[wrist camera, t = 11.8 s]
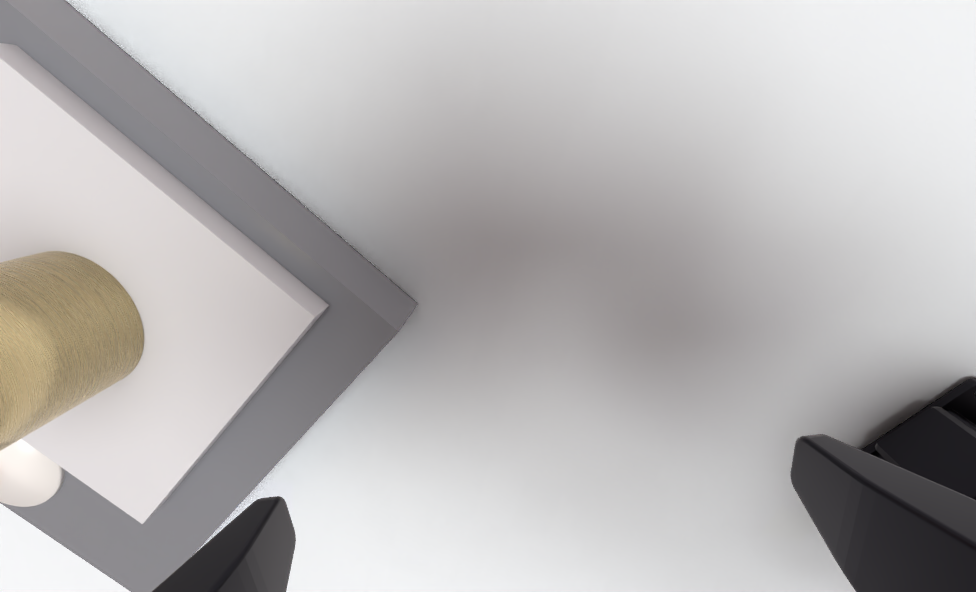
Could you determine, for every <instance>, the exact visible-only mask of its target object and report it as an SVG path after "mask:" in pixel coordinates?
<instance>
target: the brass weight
mask: <svg viewBox="0 0 976 592" xmlns="http://www.w3.org/2000/svg"><path fill="white" fill-rule="evenodd" d="M143 344H144V332H143V326H142V322H141V318H140V315H139V313H138V310H137V308H136V306H135V304H134V302H133V300H132V299H131V297H130V295H129V294H128V293H127V291H126V290H125V288H124V287H123V286H122V285H121V284H120V283H119V282H118V280H117V279H115V278H114V277H113V276H112V275H111V274H110V273H109V272H108V271H106V270H105V269H104V268H102V267H101V266H99V265H98V264H96V263H94V262H93V261H91V260H89V259H87V258H85V257H82V256H79V255H76V254H73V253H68V252H62V251H46V252H42V253H37V254H33V255H29V256H25V257H20V258H16V259H12V260H8V261H4V262H0V451H1V450H3V449H4V448H6V447H8V446H10V445H11V444H13V443H15V442H16V441H18V440H20V439H21V438H23V437H25V436H27V435H28V434H30V433H32V432H33V431H35V430H37V429H38V428H40V427H42V426H44V425H45V424H47V423H49V422H50V421H52V420H54V419H55V418H57V417H59V416H61V415H62V414H64V413H66V412H67V411H69V410H71V409H72V408H74V407H76V406H78V405H79V404H81V403H83V402H84V401H86V400H88V399H89V398H91V397H93V396H95V395H96V394H98V393H100V392H101V391H103V390H105V389H106V388H108V387H110V386H112V385H113V384H115V383H117V382H118V381H120V380H122V379H123V378H125V377H126V376H128V375H129V374H130V373H131V372H132V371H133V370H134V368H135V367H136V365H137V364H138V362H139V360H140V358H141V355H142V351H143Z"/></svg>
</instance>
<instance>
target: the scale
mask: <svg viewBox="0 0 976 592" xmlns="http://www.w3.org/2000/svg"><path fill="white" fill-rule="evenodd" d="M46 251H62V252H68V253H73V254H76V255H79V256H82V257H85V258H87V259H89V260H91V261H93V262H94V263H96V264H98V265H99V266H101V267H102V268H104V269H105V270H106V271H108V272H109V273H110V274H111V275H112V276H113V277H114V278H115V279H117V280H118V282H119V283H120V284H121V285H122V286H123V287H124V288H125V290H126V291H127V293H128V294H129V295H130V297H131V299H132V300H133V302H134V304H135V306H136V308H137V310H138V313H139V315H140V318H141V322H142V326H143V332H144V344H143V351H142V355H141V358H140V360H139V362H138V364H137V365H136V367H135V368H134V370H133V371H132V372H131V373H130V374H129V375H128V376H126V377H125V378H123V379H122V380H120V381H118V382H117V383H115V384H113V385H112V386H110V387H108V388H106V389H105V390H103V391H101V392H100V393H98V394H96V395H95V396H93V397H91V398H89V399H88V400H86V401H84V402H83V403H81V404H79V405H78V406H76V407H74V408H72V409H71V410H69V411H67V412H66V413H64V414H62V415H61V416H59V417H57V418H55V419H54V420H52V421H50V422H49V423H47V424H45V425H44V426H42V427H40V428H38V429H37V430H35V431H33V432H32V433H30V434H28V435H27V436H25V437H23V438H21V439H20V440H18V441H16V442H15V443H13V444H11V445H10V446H8V447H6V448H4V449H3V450H1V451H0V503H1V504H3V505H4V506H6V507H7V508H9V509H10V510H11V511H13V512H14V513H16V514H17V515H19V516H20V517H22V518H23V519H25V520H26V521H28V522H29V523H31V524H32V525H34V526H35V527H37V528H38V529H39V530H41V531H42V532H44V533H45V534H47V535H48V536H50V537H51V538H53V539H54V540H56V541H57V542H59V543H60V544H62V545H63V546H64V547H66V548H67V549H69V550H70V551H72V552H73V553H75V554H76V555H78V556H79V557H81V558H82V559H84V560H85V561H87V562H88V563H90V564H91V565H92V566H94V567H95V568H97V569H98V570H100V571H101V572H103V573H104V574H106V575H107V576H109V577H110V578H112V579H113V580H115V581H116V582H118V583H119V584H120V585H122V586H123V587H125V588H126V589H128V590H129V591H131V592H152V591H153V590H154V589H155V588H156V587H158V586H159V585H160V584H161V583H162V582H163V581H164V580H165V579H167V578H168V577H169V576H170V575H171V574H172V573H173V572H175V571H176V570H177V569H178V568H179V567H180V566H181V565H183V564H184V563H185V562H186V561H187V560H188V559H189V558H190V557H191V556H192V555H193V554H194V553H195V552H196V551H197V550H198V549H199V548H200V547H201V546H202V544H203V543H204V542H205V541H206V540H207V539H208V538H209V537H210V536H211V535H212V534H213V533H214V531H215V530H216V529H217V528H218V527H219V526H220V525H221V524H222V523H223V522H224V521H225V519H226V518H227V517H228V516H229V515H230V514H231V513H232V512H233V511H234V510H235V509H236V508H237V506H238V505H239V504H240V503H241V502H242V501H243V500H244V499H245V498H246V497H247V496H248V495H249V493H250V492H251V491H252V490H253V489H254V488H255V487H256V486H257V485H258V484H259V483H260V481H261V480H262V479H263V478H264V477H265V476H266V475H267V474H268V473H269V472H270V471H271V470H272V468H273V467H274V466H275V465H276V464H277V463H278V462H279V461H280V460H281V459H282V458H283V456H284V455H285V454H286V453H287V452H288V451H289V450H290V449H291V448H292V447H293V446H294V445H295V443H296V442H297V441H298V440H299V439H300V438H301V437H302V436H303V435H304V434H305V433H306V432H307V430H308V429H309V428H310V427H311V426H312V425H313V424H314V423H315V422H316V421H317V420H318V418H319V417H320V416H321V415H322V414H323V413H324V412H325V411H326V410H327V409H328V408H329V407H330V405H331V404H332V403H333V402H334V401H335V400H336V399H337V398H338V397H339V396H340V395H341V394H342V392H343V391H344V390H345V389H346V388H347V387H348V386H349V385H350V384H351V383H352V382H353V380H354V379H355V378H356V377H357V376H358V375H359V374H360V373H361V372H362V371H363V370H364V369H365V367H366V366H367V365H368V364H369V363H370V362H371V361H372V360H373V359H374V358H375V357H376V355H377V354H378V353H379V352H380V351H381V350H382V349H383V348H384V347H385V346H386V345H387V344H388V342H389V341H390V340H391V339H392V338H393V337H394V336H395V335H396V334H397V333H398V332H399V330H400V329H401V327H402V326H403V325H404V323H405V322H406V320H407V319H408V317H409V316H410V315H411V313H412V312H413V310H414V309H415V307H416V306H417V305H418V304H417V303H416V302H415V301H414V300H413V299H412V298H410V297H409V296H408V295H407V294H406V293H405V292H403V291H402V290H401V289H400V288H399V287H398V286H396V285H395V284H394V283H393V282H392V281H391V280H389V279H388V278H387V277H386V276H385V275H384V274H383V273H381V272H380V271H379V270H378V269H377V268H376V267H374V266H373V265H372V264H371V263H370V262H369V261H367V260H366V259H365V258H364V257H363V256H362V255H360V254H359V253H358V252H357V251H356V250H355V249H353V248H352V247H351V246H350V245H349V244H348V243H346V242H345V241H344V240H343V239H342V238H341V237H339V236H338V235H337V234H336V233H335V232H334V231H332V230H331V229H330V228H329V227H328V226H327V225H325V224H324V223H323V222H322V221H321V220H320V219H319V218H317V217H316V216H315V215H314V214H313V213H312V212H310V211H309V210H308V209H307V208H306V207H305V206H303V205H302V204H301V203H300V202H299V201H298V200H296V199H295V198H294V197H293V196H292V195H291V194H289V193H288V192H287V191H286V190H285V189H284V188H282V187H281V186H280V185H279V184H278V183H277V182H275V181H274V180H273V179H272V178H271V177H270V176H268V175H267V174H266V173H265V172H264V171H263V170H262V169H260V168H259V167H258V166H257V165H256V164H255V163H253V162H252V161H251V160H250V159H249V158H248V157H246V156H245V155H244V154H243V153H242V152H241V151H239V150H238V149H237V148H236V147H235V146H234V145H232V144H231V143H230V142H229V141H228V140H227V139H225V138H224V137H223V136H222V135H221V134H220V133H218V132H217V131H216V130H215V129H214V128H213V127H211V126H210V125H209V124H208V123H207V122H206V121H204V120H203V119H202V118H201V117H200V116H199V115H198V114H196V113H195V112H194V111H193V110H192V109H191V108H189V107H188V106H187V105H186V104H185V103H184V102H182V101H181V100H180V99H179V98H178V97H177V96H175V95H174V94H173V93H172V92H171V91H170V90H168V89H167V88H166V87H165V86H164V85H163V84H161V83H160V82H159V81H158V80H157V79H156V78H154V77H153V76H152V75H151V74H150V73H149V72H147V71H146V70H145V69H144V68H143V67H142V66H141V65H139V64H138V63H137V62H136V61H135V60H134V59H132V58H131V57H130V56H129V55H128V54H127V53H125V52H124V51H123V50H122V49H121V48H120V47H118V46H117V45H116V44H115V43H114V42H113V41H111V40H110V39H109V38H108V37H107V36H106V35H104V34H103V33H102V32H101V31H100V30H99V29H97V28H96V27H95V26H94V25H93V24H92V23H90V22H89V21H88V20H87V19H86V18H85V17H83V16H82V15H81V14H80V13H79V12H78V11H77V10H75V9H74V8H73V7H72V6H71V5H70V4H68V3H67V2H66V1H65V0H0V262H4V261H8V260H12V259H16V258H20V257H25V256H29V255H33V254H37V253H42V252H46Z"/></svg>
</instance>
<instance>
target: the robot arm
mask: <svg viewBox="0 0 976 592" xmlns="http://www.w3.org/2000/svg"><path fill="white" fill-rule="evenodd" d="M975 392H976V378H973V379H969V380H967V381H965V382H963V383H962V384H960V385H959V386H957V387H956V388H954V389H953V390H951V391H950V392H948V393H947V394H945V395H944V396H942V397H941V398H939V399H938V400H936V401H935V402H933V403H932V404H930V405H929V406H927V407H926V408H924V409H923V410H921V411H920V412H918V413H917V414H915V415H914V416H912V417H911V418H909V419H907V420H906V421H904V422H903V423H901V424H900V425H898V426H897V427H895V428H894V429H892V430H891V431H889V432H888V433H886V434H885V435H883V436H882V437H880V438H879V439H877V440H876V441H874V442H873V443H871V444H870V445H868V446H867V447H865V448H864V449H862V450H859V449H857V448H854V447H852V446H850V445H848V444H845V443H843V442H841V441H838V440H836V439H834V438H831V437H829V436H827V435H823V434H817V435H808V436H802V437H799V438H798V439H797V441H796V444H795V449H794V455H793V462H792V468H791V480H792V484H793V487H794V489H795V491H796V492H797V494H798V496H799V497H800V499H801V501H802V503H803V504H804V506H805V508H806V510H807V511H808V513H809V515H810V517H811V518H812V520H813V522H814V524H815V525H816V527H817V529H818V531H819V532H820V534H821V536H822V538H823V539H824V541H825V543H826V544H827V546H828V548H829V550H830V551H831V553H832V555H833V557H834V558H835V560H836V562H837V563H838V565H839V567H840V568H841V570H842V571H843V573H844V574H845V576H846V577H847V579H848V580H849V582H850V583H851V585H852V586H853V588H854V589H855V591H856V592H976V394H975V395H974V393H975ZM295 541H296V538H295V530H294V527H293V524H292V521H291V518H290V514H289V511H288V508H287V505H286V502H285V500H284V499H283V498H282V497H279V496H277V497H269V498H261V499H258V500H256V501H255V502H253V503H252V504H251V505H250V506H249V507H248V508H246V509H245V510H244V511H243V512H242V513H241V514H240V515H238V516H237V517H236V518H235V519H234V520H233V521H232V522H230V523H229V524H228V525H227V526H226V527H225V528H224V529H222V530H221V531H220V532H219V533H218V534H217V535H216V536H215V537H213V538H212V539H211V540H210V541H209V542H208V543H207V544H205V545H204V546H203V547H202V548H201V549H200V550H199V551H197V552H196V553H195V554H194V555H193V556H192V557H191V558H189V559H188V560H187V561H186V562H185V563H184V564H183V565H181V566H180V567H179V568H178V569H177V570H176V571H175V572H173V573H172V574H171V575H170V576H169V577H168V578H167V579H165V580H164V581H163V582H162V583H161V584H160V585H159V586H158V587H156V588H155V589H154V590H153V591H152V592H286V589H287V584H288V579H289V574H290V569H291V564H292V559H293V554H294V549H295Z"/></svg>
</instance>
